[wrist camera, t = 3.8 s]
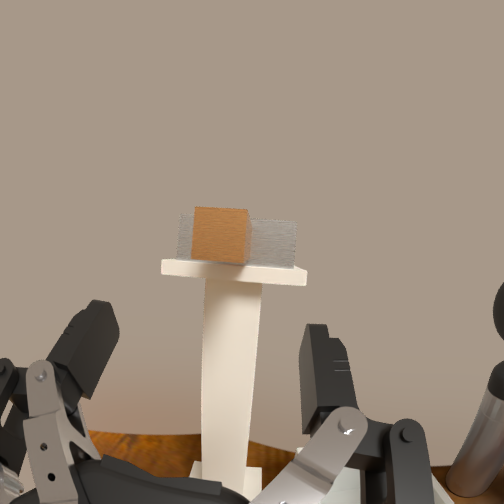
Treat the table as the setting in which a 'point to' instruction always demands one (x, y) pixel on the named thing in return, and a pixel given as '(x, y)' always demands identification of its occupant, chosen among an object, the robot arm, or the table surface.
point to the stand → (230, 365)
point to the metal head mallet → (235, 239)
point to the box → (348, 488)
